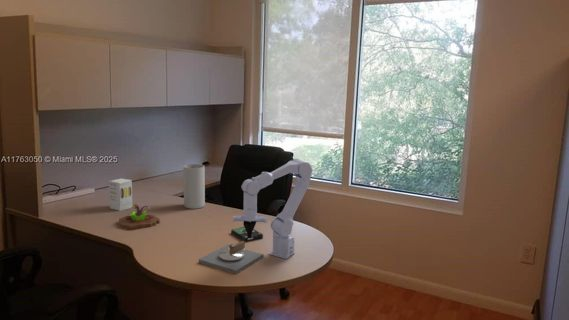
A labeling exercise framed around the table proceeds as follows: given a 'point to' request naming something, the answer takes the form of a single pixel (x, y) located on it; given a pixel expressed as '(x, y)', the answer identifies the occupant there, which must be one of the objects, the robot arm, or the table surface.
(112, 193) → the supplement box
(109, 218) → the table surface
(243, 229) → the disk drive
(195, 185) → the cylinder vase
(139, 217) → the plant
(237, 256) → the dial
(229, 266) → the dial panel
